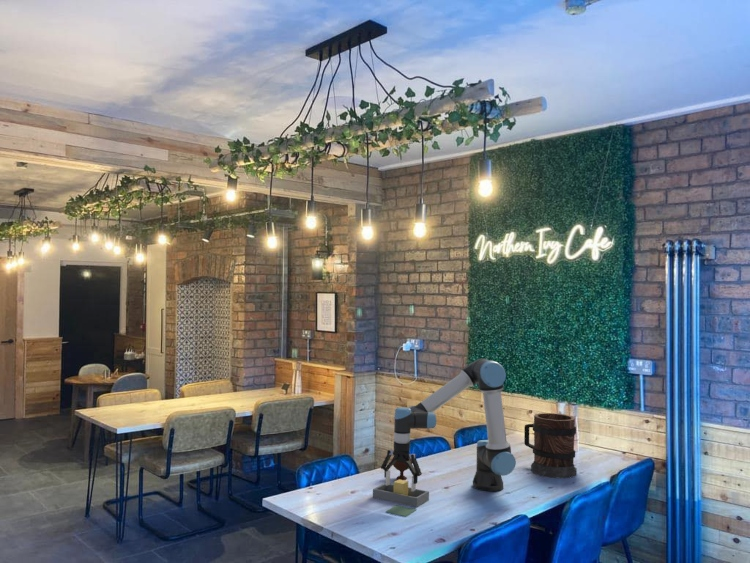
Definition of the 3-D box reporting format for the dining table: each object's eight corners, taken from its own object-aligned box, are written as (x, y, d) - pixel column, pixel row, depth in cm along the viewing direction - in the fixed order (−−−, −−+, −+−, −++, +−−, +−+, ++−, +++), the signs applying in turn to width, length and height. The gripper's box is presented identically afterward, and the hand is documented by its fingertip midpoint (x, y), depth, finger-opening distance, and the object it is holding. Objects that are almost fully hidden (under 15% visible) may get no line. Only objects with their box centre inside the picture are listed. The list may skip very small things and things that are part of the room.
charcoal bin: (428, 501, 285) (429, 491, 285) (416, 508, 274) (417, 498, 274) (385, 492, 296) (385, 482, 297) (372, 498, 286) (372, 489, 286)
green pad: (416, 511, 271) (416, 509, 271) (405, 517, 262) (405, 516, 262) (396, 506, 276) (396, 504, 276) (385, 513, 268) (385, 511, 268)
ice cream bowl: (387, 479, 317) (388, 450, 317) (397, 474, 327) (397, 445, 327) (406, 483, 312) (407, 453, 312) (415, 477, 322) (416, 448, 322)
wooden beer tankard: (562, 480, 322) (563, 423, 323) (513, 468, 343) (514, 414, 344) (584, 472, 339) (584, 417, 339) (536, 461, 360) (537, 409, 360)
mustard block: (408, 498, 286) (408, 481, 286) (402, 501, 282) (403, 483, 282) (398, 496, 289) (398, 479, 289) (393, 499, 285) (393, 481, 285)
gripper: (429, 444, 283) (428, 490, 282) (382, 436, 296) (381, 480, 295) (422, 447, 276) (420, 495, 276) (374, 438, 289) (373, 484, 289)
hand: (400, 487), depth 285 cm, fingers open, 13 cm apart
